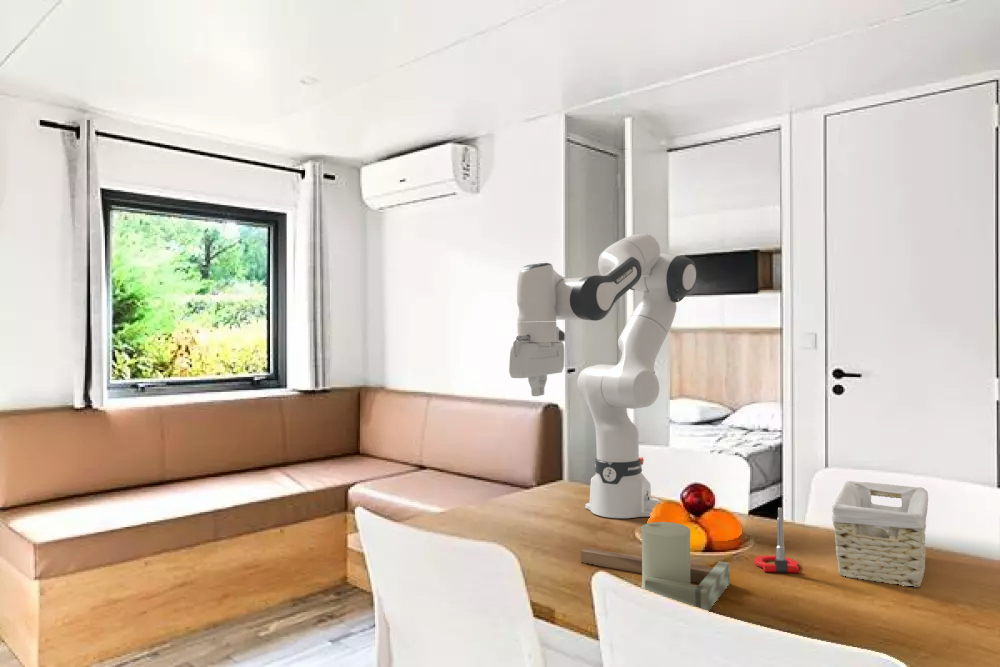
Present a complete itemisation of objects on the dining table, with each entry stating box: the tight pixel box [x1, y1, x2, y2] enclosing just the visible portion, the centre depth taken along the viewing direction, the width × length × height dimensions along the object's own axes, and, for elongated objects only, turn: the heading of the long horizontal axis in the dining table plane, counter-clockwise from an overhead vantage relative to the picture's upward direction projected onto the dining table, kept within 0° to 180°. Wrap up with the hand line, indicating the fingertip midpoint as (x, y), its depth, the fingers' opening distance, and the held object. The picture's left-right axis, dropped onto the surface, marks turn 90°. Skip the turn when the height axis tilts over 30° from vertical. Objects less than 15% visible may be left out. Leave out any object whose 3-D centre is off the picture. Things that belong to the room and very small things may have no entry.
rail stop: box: [580, 547, 731, 612], centre depth 138 cm, size 16×30×4 cm, turn 59°
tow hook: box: [754, 507, 800, 574], centre depth 147 cm, size 8×13×9 cm
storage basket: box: [831, 480, 929, 588], centre depth 146 cm, size 24×16×15 cm
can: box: [640, 521, 692, 589], centre depth 135 cm, size 9×9×12 cm
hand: (538, 395), depth 162 cm, fingers closed
